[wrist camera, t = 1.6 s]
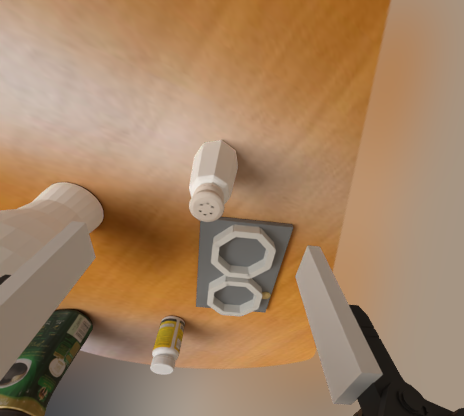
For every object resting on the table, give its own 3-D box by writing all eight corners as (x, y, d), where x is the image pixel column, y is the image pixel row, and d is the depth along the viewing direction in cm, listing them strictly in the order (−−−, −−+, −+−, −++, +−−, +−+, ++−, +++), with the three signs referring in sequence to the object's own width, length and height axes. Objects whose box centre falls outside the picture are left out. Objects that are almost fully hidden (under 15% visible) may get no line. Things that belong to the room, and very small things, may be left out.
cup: (106, 175, 28) (-4, 263, 15) (120, 240, 33) (48, 344, 20) (19, 167, 27) (-171, 250, 14) (48, 234, 33) (-71, 336, 20)
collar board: (201, 214, 31) (199, 224, 29) (292, 224, 31) (295, 234, 29) (196, 302, 41) (194, 314, 39) (264, 308, 42) (266, 320, 40)
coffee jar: (58, 331, 47) (-31, 462, 31) (36, 309, 43) (-80, 447, 27) (101, 328, 46) (31, 461, 30) (82, 305, 42) (-10, 445, 26)
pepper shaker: (232, 186, 28) (231, 241, 19) (191, 176, 28) (168, 228, 18) (244, 145, 25) (249, 187, 16) (198, 133, 25) (175, 169, 15)
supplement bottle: (157, 322, 45) (142, 370, 37) (169, 312, 43) (156, 360, 36) (177, 331, 46) (166, 378, 39) (189, 321, 44) (181, 369, 37)
